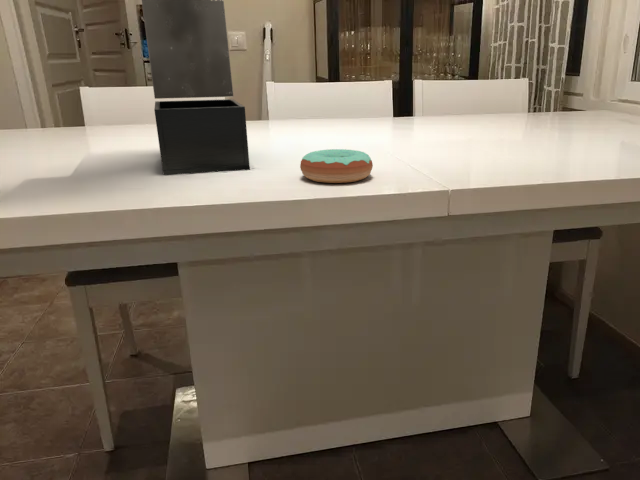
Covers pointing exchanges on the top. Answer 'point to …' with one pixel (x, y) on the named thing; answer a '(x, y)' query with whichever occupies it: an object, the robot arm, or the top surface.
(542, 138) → the top surface
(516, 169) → the top surface
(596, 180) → the top surface
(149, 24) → the bin lid
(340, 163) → the donut
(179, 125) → the trash bin
